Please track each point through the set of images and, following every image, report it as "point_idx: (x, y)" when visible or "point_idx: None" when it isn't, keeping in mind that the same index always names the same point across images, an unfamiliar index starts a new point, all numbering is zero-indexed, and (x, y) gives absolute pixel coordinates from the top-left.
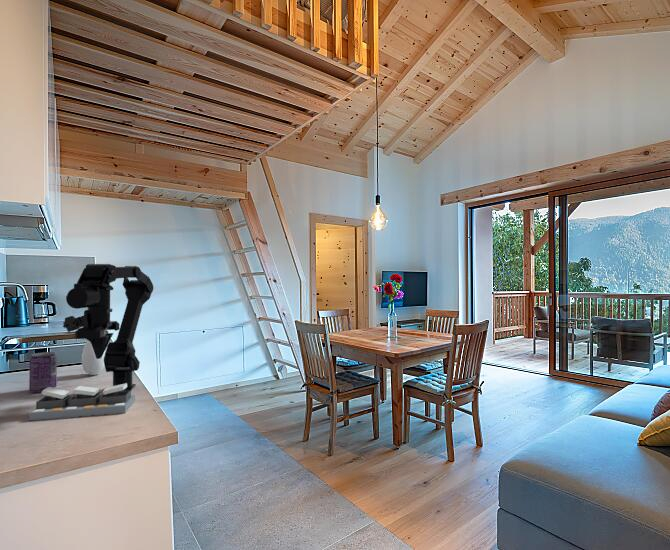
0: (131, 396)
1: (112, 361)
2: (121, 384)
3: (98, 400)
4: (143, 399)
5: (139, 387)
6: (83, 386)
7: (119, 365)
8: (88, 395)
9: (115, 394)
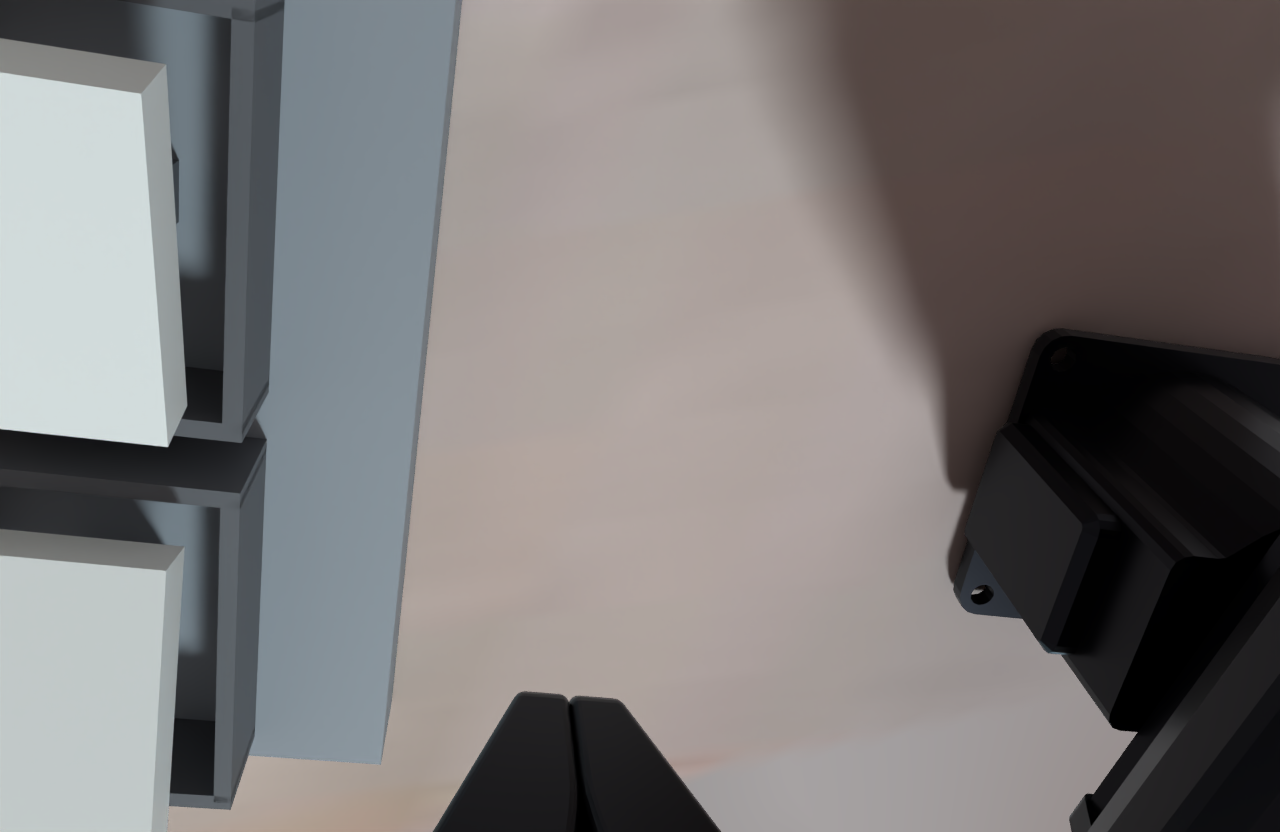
0: (305, 736)
1: (1248, 711)
2: (134, 801)
3: None
4: (455, 774)
5: None
6: (142, 186)
7: (1141, 759)
8: None
9: None
